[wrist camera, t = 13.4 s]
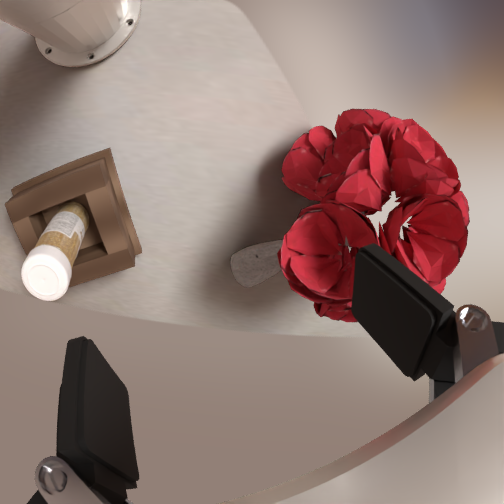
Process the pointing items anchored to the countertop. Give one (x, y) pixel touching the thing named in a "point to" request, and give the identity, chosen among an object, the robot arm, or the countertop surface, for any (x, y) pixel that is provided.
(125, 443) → the robot arm
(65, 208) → the sprinkles bottle
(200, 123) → the countertop surface
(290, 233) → the bouquet
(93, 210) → the socket block
